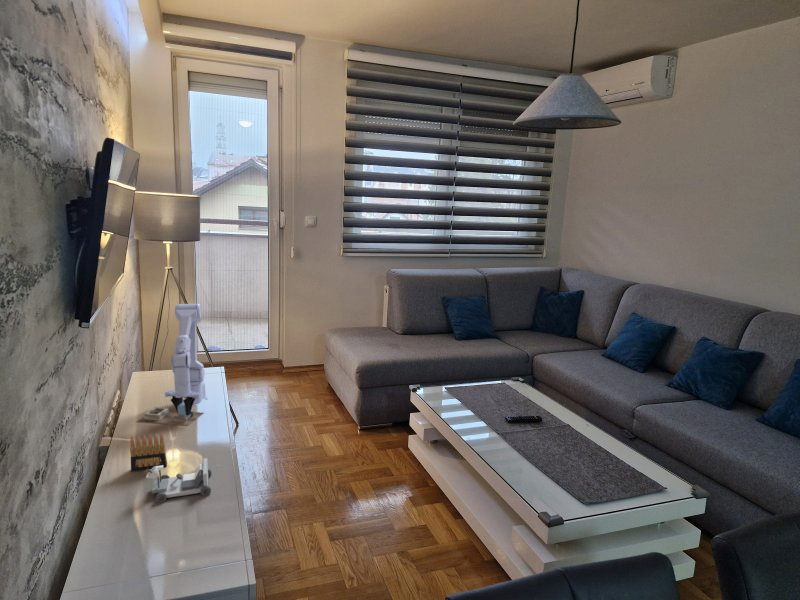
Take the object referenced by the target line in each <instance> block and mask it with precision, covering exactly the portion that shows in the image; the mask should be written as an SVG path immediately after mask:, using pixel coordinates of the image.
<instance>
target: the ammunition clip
mask: <svg viewBox="0 0 800 600" xmlns="http://www.w3.org/2000/svg"><path fill="white" fill-rule="evenodd" d="M159 435H160V436H159V438H158V434H157V433H154V437H153V438H152V434H151V433H149V434H148V438H147V437H146V435H145V434H143V436H142V444H141V439H140V436H139V435H137V436H136V440H135V439H134V437H133V436H132V435H131V436H130V439H129V441H130V442H129V443H130V445H129V446H130V447H129V450H130V472H141V471H147V469H149V470H151V469H152V468H153V467H154V466H161V465H163V469H164V468H166V467H167V466H168V461H167V454H166V444H165V439H164V434H163V433H162V432H160V434H159ZM147 439H148V440H147ZM135 441H136V443H135ZM147 441H148V442H147ZM147 443H148V444H147Z"/></svg>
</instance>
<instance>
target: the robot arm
mask: <svg viewBox="0 0 800 600" xmlns="http://www.w3.org/2000/svg"><path fill="white" fill-rule="evenodd" d="M174 317H175V318H176V320H177V321H178V322H179V331H178V332H179V335H178V337H176V338H175V342H174V343H175V344H174V352H173V354H171V357H170V363H171V368H172V373H173V379H174V390H166V391H165V392H164V398H168V397H170V398H171V397H172V398H171V399H170V402H171V403H172V405H173V406H174V408H175V411H177V413H178V405H180V404H181V403H183V402H184V404H185V407H186V415H190V414H191V411H192V408H193V406H199V405H200V404H201V403H203V402H204V401H205V400H208V398H209V397H208V396H207V395H206V384H205V366H204V364H203V363H201V361H199V360H198V353H197V352H198V350H197V349H198V346H197V340H198V338H197V326H198V324H199V323H201V322H202V306H201V304H200V303H177V304H176V305H175V307H174Z"/></svg>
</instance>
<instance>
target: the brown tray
mask: <svg viewBox="0 0 800 600" xmlns="http://www.w3.org/2000/svg"><path fill="white" fill-rule="evenodd" d="M203 414H205V412H198V411H195V410H191V417H190V418H188V419H187V416H178V413H177V410H171V409H170V408H169V407H168V408H167V407H158V406H157V407H155V406H154V407H152V409H150V410H148V411H146V412H145V413H143V416H142V417H141V418H140V419H138V420H137V421H135V423H143V424H156V425H157V424H158V425H169V426H170V425H171V426H181V427H182V426H183V427H189V426H190V425H191V424H193V422H195V421H197V419H199V418H200V417H201V416H202V415H203Z"/></svg>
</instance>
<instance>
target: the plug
mask: <svg viewBox="0 0 800 600" xmlns="http://www.w3.org/2000/svg"><path fill="white" fill-rule="evenodd" d="M182 402H183V403H181V404H180V405H178V416H187V419H188V418H190V417H191V414H190V415H186V407H185V404H184V401H182Z"/></svg>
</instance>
